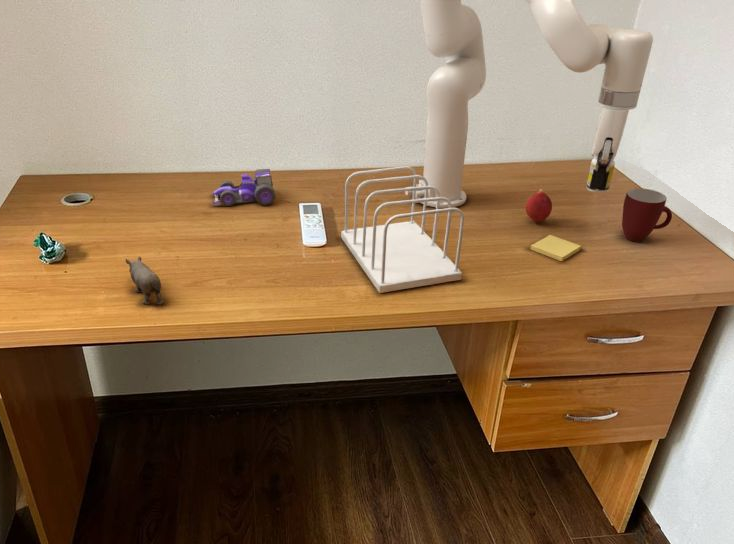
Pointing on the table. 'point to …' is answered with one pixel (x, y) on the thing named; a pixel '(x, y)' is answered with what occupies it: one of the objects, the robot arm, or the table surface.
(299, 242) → the table surface
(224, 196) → the toy race car
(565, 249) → the sticky note pad
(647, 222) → the mug
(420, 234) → the file sorter
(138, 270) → the rhino figurine
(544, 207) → the onion
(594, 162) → the supplement bottle
